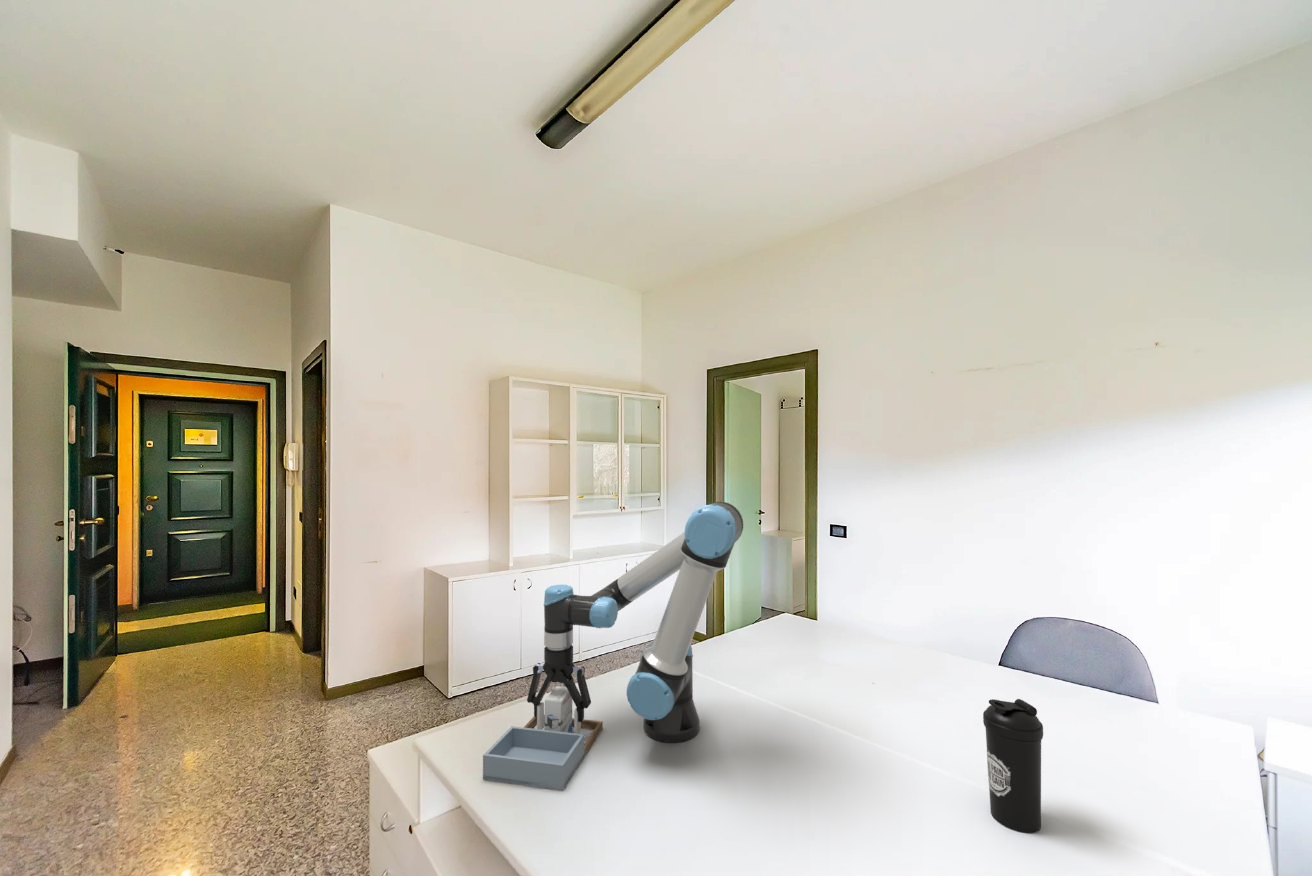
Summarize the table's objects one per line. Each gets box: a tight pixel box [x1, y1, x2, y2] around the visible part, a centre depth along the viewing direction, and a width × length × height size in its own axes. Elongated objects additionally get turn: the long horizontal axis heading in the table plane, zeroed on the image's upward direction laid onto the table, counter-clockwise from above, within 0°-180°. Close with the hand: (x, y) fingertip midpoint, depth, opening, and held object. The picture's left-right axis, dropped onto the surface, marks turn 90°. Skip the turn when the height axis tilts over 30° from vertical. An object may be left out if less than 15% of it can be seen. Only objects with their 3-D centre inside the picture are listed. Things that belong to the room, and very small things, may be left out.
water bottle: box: [982, 698, 1044, 834], centre depth 109 cm, size 10×10×23 cm
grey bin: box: [482, 725, 586, 792], centre depth 128 cm, size 20×14×6 cm
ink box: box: [543, 685, 573, 733], centre depth 142 cm, size 9×5×12 cm, turn 168°
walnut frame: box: [523, 714, 604, 757], centre depth 142 cm, size 20×14×2 cm
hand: (558, 731), depth 142 cm, fingers open, 10 cm apart
